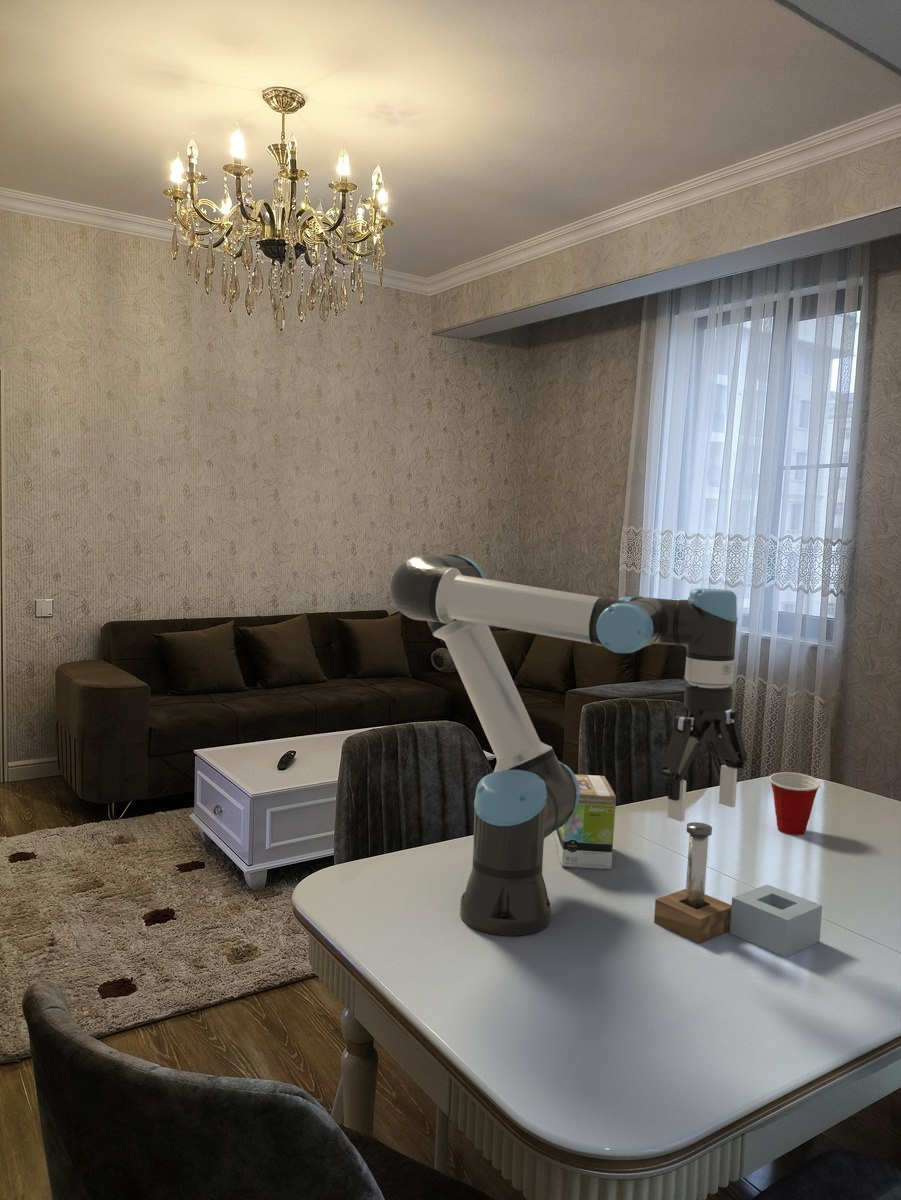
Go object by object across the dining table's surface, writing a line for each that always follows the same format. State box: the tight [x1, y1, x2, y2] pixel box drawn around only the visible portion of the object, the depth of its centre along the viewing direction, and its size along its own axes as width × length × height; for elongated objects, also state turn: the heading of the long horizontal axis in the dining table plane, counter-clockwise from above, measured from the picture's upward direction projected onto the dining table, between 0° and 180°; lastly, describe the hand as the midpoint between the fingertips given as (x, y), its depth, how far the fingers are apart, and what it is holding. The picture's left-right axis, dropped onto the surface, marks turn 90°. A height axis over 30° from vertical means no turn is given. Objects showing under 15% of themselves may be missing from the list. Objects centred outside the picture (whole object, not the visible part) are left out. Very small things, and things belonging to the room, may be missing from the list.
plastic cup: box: [768, 771, 822, 836], centre depth 198 cm, size 11×11×12 cm
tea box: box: [554, 773, 617, 870], centre depth 178 cm, size 15×10×15 cm, turn 179°
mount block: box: [653, 888, 732, 944], centre depth 148 cm, size 9×9×4 cm
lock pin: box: [685, 821, 713, 909], centre depth 147 cm, size 4×4×17 cm
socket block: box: [729, 884, 823, 958], centre depth 145 cm, size 10×10×6 cm
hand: (702, 812), depth 146 cm, fingers open, 13 cm apart
